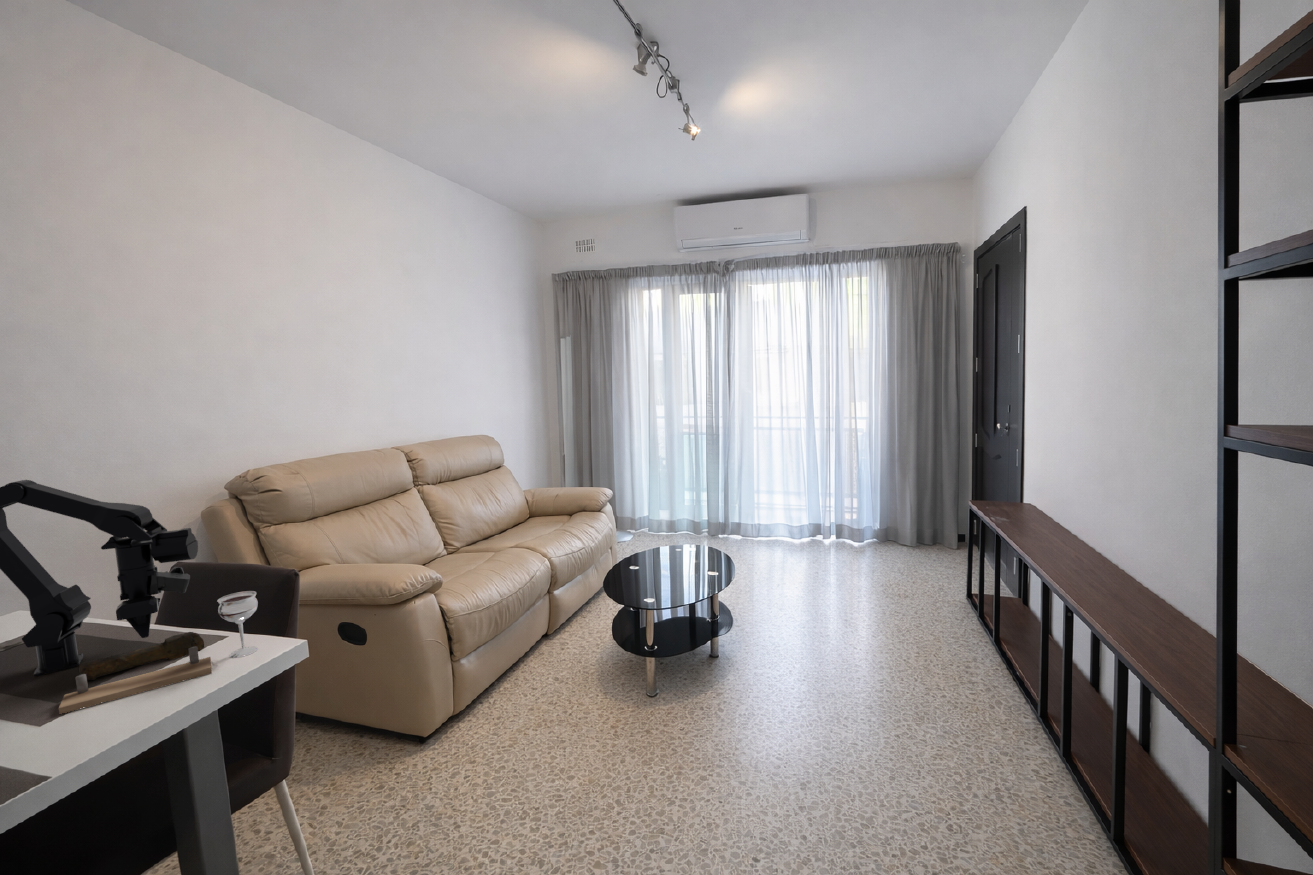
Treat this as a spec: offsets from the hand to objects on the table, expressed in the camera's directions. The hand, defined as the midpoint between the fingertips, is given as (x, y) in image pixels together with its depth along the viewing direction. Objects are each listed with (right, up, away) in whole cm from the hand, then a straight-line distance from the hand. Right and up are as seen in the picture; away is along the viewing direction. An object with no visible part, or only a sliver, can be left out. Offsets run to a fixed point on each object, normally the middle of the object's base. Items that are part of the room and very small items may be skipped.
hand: (145, 637), depth 124 cm
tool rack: (+12, -4, -15) cm, 20 cm away
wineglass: (+22, -3, -2) cm, 23 cm away
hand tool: (+5, -4, -5) cm, 8 cm away
